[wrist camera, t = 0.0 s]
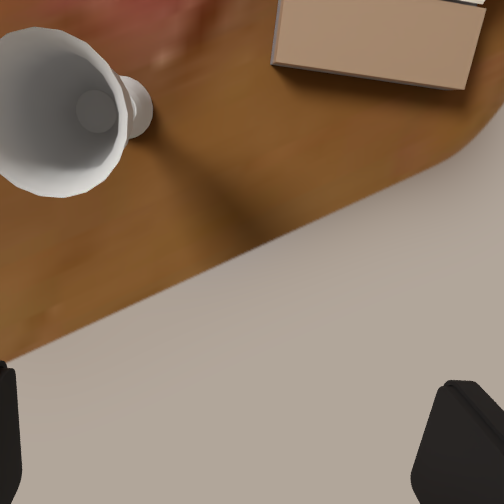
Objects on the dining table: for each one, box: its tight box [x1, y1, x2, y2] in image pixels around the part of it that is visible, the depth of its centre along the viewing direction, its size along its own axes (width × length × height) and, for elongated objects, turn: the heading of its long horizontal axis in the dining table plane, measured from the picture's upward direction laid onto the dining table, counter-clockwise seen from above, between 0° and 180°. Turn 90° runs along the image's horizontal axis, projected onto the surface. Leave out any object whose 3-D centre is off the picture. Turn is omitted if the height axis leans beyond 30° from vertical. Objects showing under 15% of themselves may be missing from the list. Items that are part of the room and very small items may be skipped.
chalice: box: [0, 27, 153, 198], centre depth 27 cm, size 7×7×18 cm
